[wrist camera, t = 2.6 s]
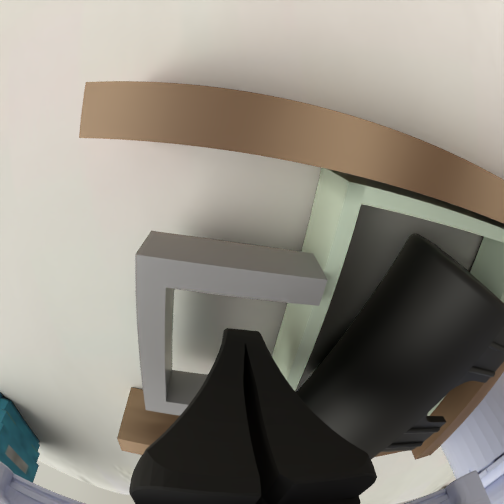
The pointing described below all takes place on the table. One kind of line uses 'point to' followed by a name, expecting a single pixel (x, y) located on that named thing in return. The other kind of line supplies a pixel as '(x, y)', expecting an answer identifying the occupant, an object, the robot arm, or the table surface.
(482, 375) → the end cap
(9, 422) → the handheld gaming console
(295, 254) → the pull tray
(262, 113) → the brown wooden frame
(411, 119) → the table surface
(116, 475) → the table surface
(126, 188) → the table surface
